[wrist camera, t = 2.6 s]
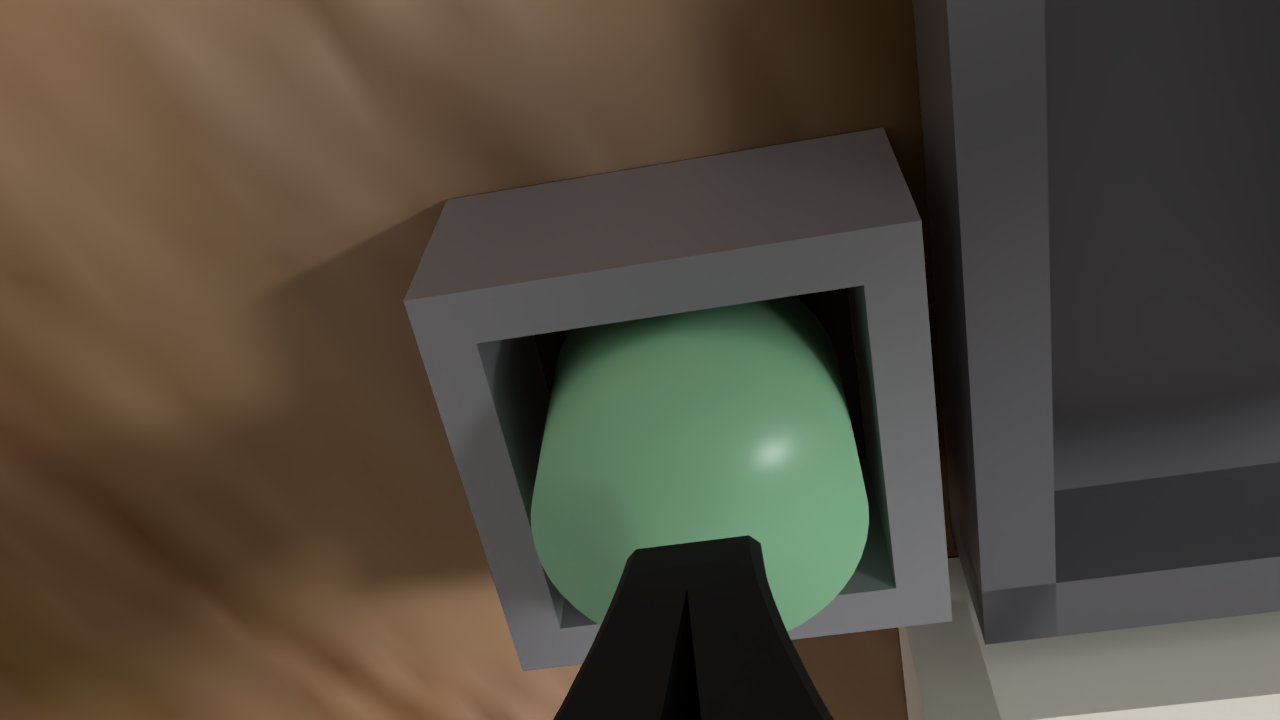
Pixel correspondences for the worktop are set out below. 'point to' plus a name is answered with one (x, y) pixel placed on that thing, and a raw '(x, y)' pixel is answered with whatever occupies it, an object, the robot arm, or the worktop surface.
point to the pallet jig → (1092, 670)
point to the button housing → (675, 283)
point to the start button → (701, 452)
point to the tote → (1107, 305)
